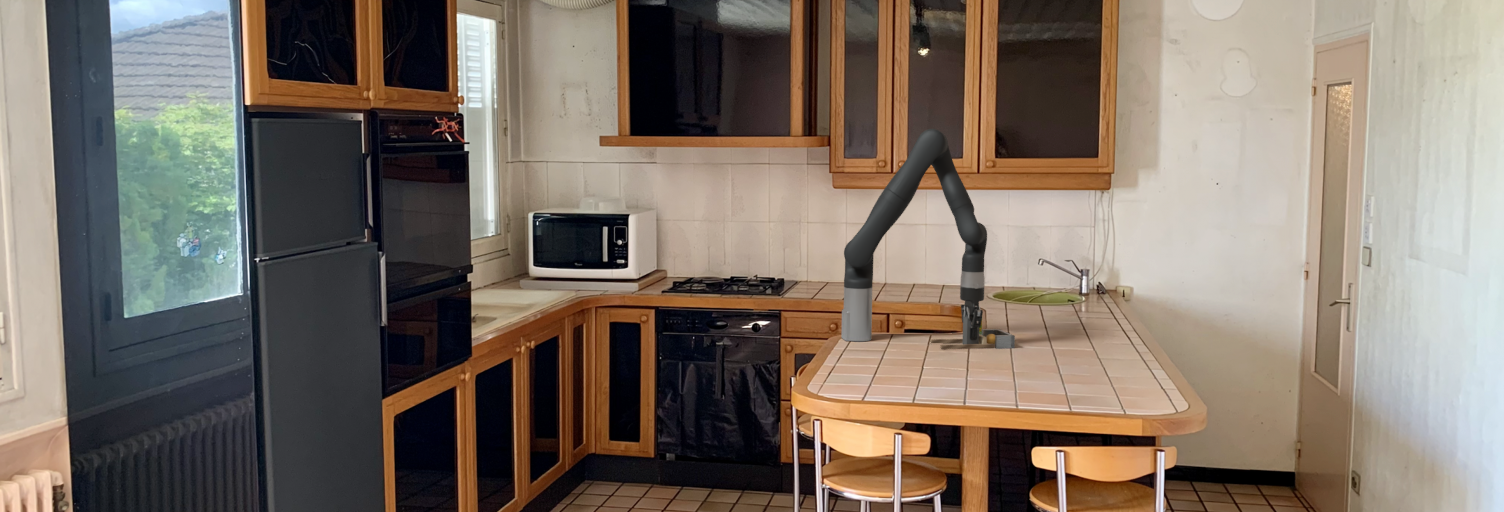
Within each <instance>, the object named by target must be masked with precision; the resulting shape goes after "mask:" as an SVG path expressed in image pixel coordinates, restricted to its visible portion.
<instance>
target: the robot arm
mask: <svg viewBox="0 0 1504 512" xmlns="http://www.w3.org/2000/svg"><path fill="white" fill-rule="evenodd" d="M947 138H948V137H947V135H945V133H944V132H942V131H940V130H939V129H936V128H928V129H925V130H924V131H923V132H921V133H920V135H918V138H917V140H916V142H915V144H914V146H913V148H912V149H911V151H910V153H909V155H908V156H907V158H906V160H905V162H904V163H902V165H901V167H899V169H898V170H897V171H896V173H895V174H894V175H893V177H892V178H891V179H890V180H889V182H888V183H887V184H886V186H885V188H884V189H883V190H882V192H881V194H880V195H879V196H878V198H877V200H876V201H875V203H874V205H873V207H872V209H871V210H870V212H869V215H868V217H867V218H866V220H865V222H864V224H863V225H862V227H861V228H860V229H859V230H858V232H857V233H856V234H855V235H854V237H852V238H851V240H849V242H847V243H846V245H845V246H844V251H843V256H844V276H843V277H844V278H843V309H841V339H843V340H844V341H845V342H846V341H847V342H849V341H850V342H868V341H869V342H870V341H871V340H872V335H873V334H872V331H873V330H872V329H873V328H872V325H873V323H872V322H873V321H872V320H873V281H874V254H875V252H876V249H877V248H878V245H879V244H880V242H881V241H882V239H883V238H884V236H885V235H886V234H887V232H888V231H889V230H890V229H891V228H892V227H893V226H894V225H895V223H896V222H897V221H899V219H900V217H901V216H902V215H903V214H904V213H905V211H906V209H907V207H908V206H909V205H910V203H911V202H912V200H913V198H914V196H915V195H916V194H917V192H918V191H917V190H918V189H919V186H920V184H921V181H922V179H923V177H924V176H925V174H926V172H927V171H928V169H929V168H930V167H931V166H932V168H933V170H934V171H935V174H936V175H937V178H938V181H939V183H940V186H941V189H942V193H943V195H944V198H945V201H946V202H947V205H948V207H949V210H950V212H951V213H952V215H953V217H954V221H955V225H956V228H957V232H958V234H959V237H960V239H961V240H962V242H964V244H965V246H964V247H965V248H964V252H963V255H962V258H961V272H960V273H961V274H960V282H959V283H960V286H959V287H960V288H959V290H960V291H959V299H960V300H961V301H964V304H961V305H960V310H961V321H962V322H961V323H962V324H963V316H964V317H966V315H967V316H968V318H969V319H968V320H969V321H970V340H977V328H978V327H981V321H982V322H983V314H984V312H983V311H984V310H983V309H981V307H980V302H982V301H984V300H985V278H986V277H985V253H986V248H987V243H988V229H987V228H986V227H985V225H984V224H983V223H981V222H978V220H977V217H976V215H975V207H974V204H973V202H972V199H971V197H970V195H969V193H968V191H967V189H966V186H965V185H964V183H963V181H962V178H960V175H959V173H958V171H957V168H956V166H955V164H954V161H953V158H952V155H951V150H950V146H949V142H948V141H949V140H948V139H947ZM972 321H973V322H972ZM975 322H976V323H975Z"/></svg>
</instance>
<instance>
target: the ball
mask: <svg viewBox="0 0 1504 512" xmlns="http://www.w3.org/2000/svg"><path fill="white" fill-rule="evenodd" d="M987 344H995V335H994V334H989V335H987Z"/></svg>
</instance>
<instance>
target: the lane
mask: <svg viewBox="0 0 1504 512" xmlns="http://www.w3.org/2000/svg"><path fill="white" fill-rule="evenodd" d="M929 342H931V343H943V344H939V345H940V346H939V349H940V348H941V349H940V350H962V349H963V350H965V349H966V350H971V349H976V350H977V349H995V344H988V343H987V344H962V342H963V338H941V339H940V338H939V339H938V338H933V339H931V338H930V340H929ZM931 343H930V344H931Z"/></svg>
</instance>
